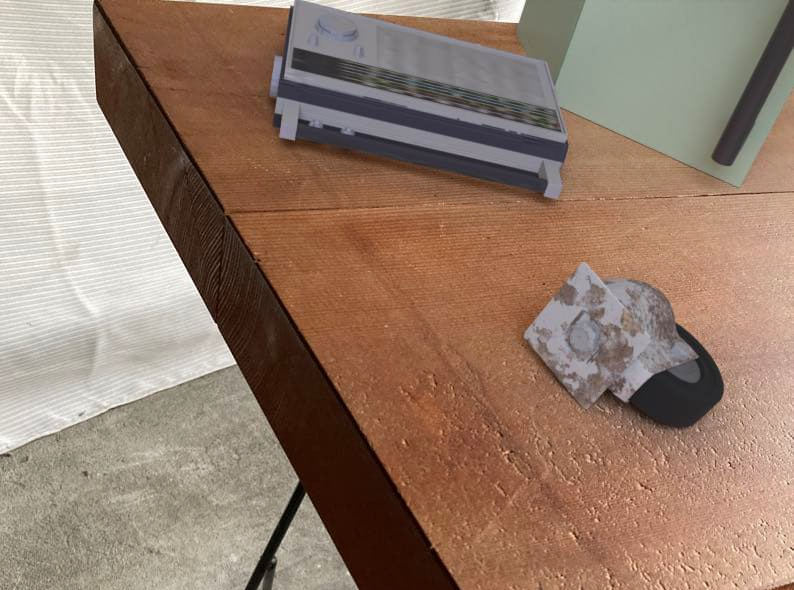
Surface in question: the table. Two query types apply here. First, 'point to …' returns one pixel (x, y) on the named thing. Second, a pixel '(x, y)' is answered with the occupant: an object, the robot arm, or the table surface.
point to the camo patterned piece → (625, 348)
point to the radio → (418, 98)
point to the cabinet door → (683, 76)
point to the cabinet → (548, 30)
